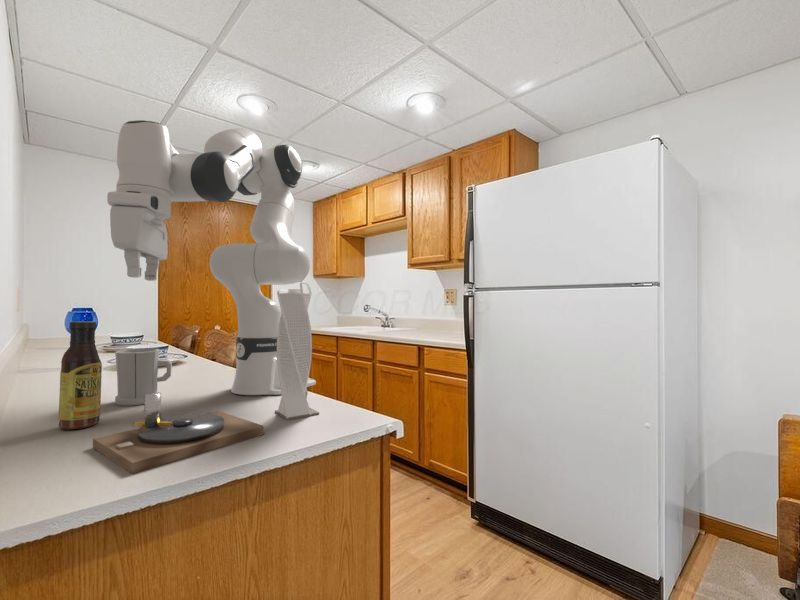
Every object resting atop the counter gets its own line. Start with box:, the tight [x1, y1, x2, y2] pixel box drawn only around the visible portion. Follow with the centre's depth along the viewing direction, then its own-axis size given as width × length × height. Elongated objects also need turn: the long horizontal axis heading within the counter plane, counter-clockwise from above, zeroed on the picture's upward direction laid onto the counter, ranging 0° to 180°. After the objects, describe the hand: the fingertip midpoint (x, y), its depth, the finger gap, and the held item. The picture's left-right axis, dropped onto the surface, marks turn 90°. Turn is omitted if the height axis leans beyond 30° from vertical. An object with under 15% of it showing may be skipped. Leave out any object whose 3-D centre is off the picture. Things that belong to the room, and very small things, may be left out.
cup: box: [114, 347, 173, 407], centre depth 97 cm, size 10×9×12 cm
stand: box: [92, 410, 265, 475], centre depth 70 cm, size 21×16×2 cm
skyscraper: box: [274, 280, 320, 421], centre depth 86 cm, size 8×8×28 cm
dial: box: [133, 392, 224, 444], centre depth 70 cm, size 14×13×6 cm
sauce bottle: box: [58, 320, 103, 431], centre depth 78 cm, size 7×6×20 cm
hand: (142, 279), depth 77 cm, fingers open, 8 cm apart
